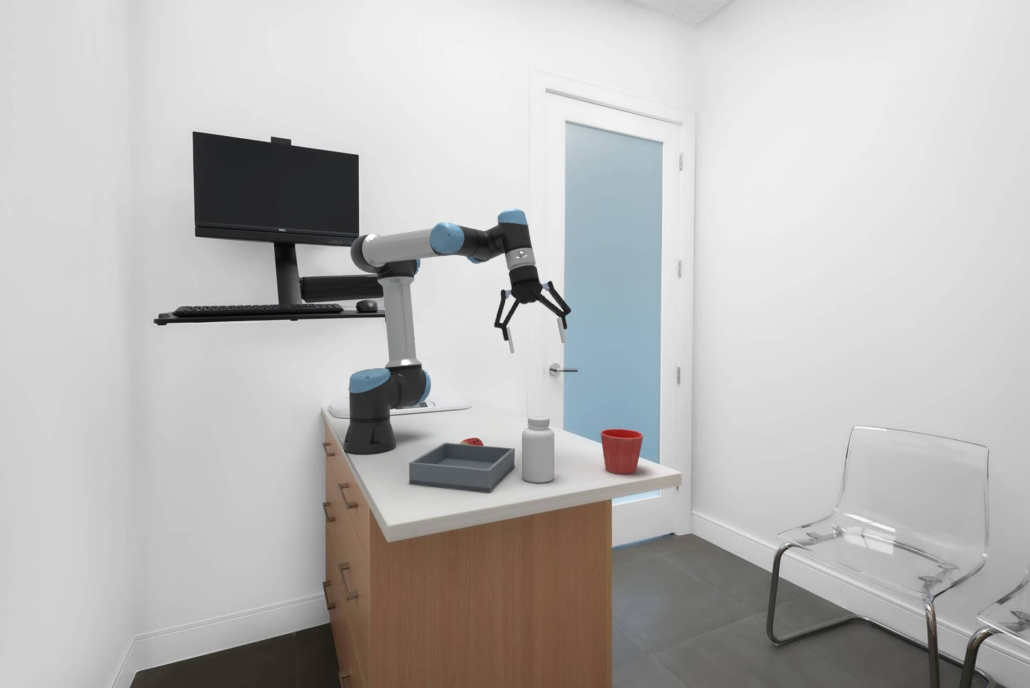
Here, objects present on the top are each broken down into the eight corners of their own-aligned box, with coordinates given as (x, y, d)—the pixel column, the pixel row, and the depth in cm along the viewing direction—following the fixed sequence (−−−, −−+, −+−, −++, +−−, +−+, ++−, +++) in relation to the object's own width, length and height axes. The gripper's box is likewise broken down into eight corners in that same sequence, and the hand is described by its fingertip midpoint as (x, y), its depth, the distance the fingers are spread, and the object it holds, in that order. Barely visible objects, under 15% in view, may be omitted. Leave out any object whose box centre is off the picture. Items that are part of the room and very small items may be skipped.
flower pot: (636, 464, 134) (637, 428, 134) (646, 476, 123) (647, 438, 123) (597, 463, 134) (597, 428, 134) (603, 476, 124) (604, 437, 123)
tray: (409, 483, 117) (409, 463, 117) (444, 460, 136) (444, 442, 136) (489, 492, 111) (489, 470, 111) (514, 467, 131) (514, 448, 130)
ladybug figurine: (451, 453, 144) (451, 441, 144) (470, 446, 153) (470, 434, 153) (470, 457, 141) (470, 444, 141) (489, 449, 150) (489, 437, 149)
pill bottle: (554, 473, 125) (555, 414, 125) (553, 484, 117) (554, 421, 117) (523, 472, 126) (523, 414, 125) (520, 483, 118) (520, 420, 117)
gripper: (475, 273, 125) (491, 355, 123) (570, 256, 127) (588, 336, 125) (475, 280, 133) (490, 358, 131) (566, 264, 135) (582, 340, 133)
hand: (538, 347), depth 128 cm, fingers open, 13 cm apart
